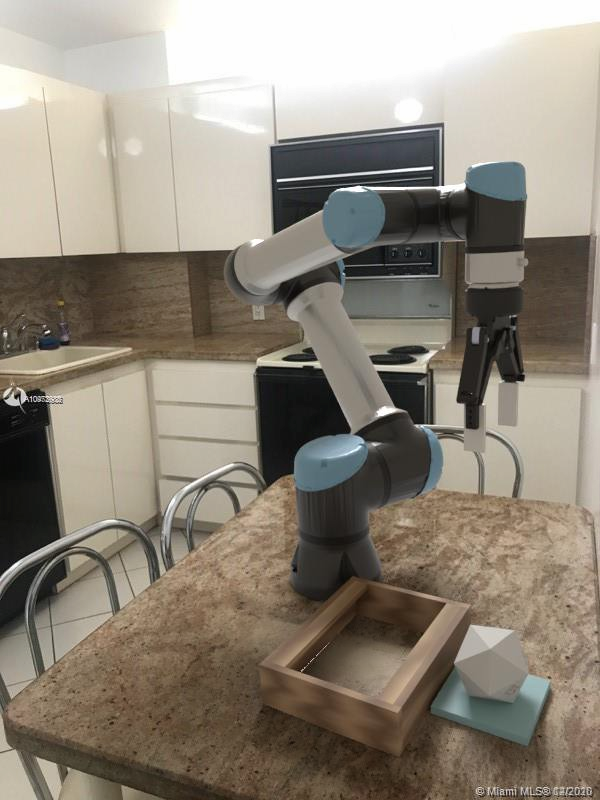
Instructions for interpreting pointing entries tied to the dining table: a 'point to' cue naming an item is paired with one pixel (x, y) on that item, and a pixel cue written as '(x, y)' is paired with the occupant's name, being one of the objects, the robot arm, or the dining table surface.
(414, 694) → the wooden tray
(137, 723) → the dining table surface
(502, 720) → the pad
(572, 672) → the dining table surface
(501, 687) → the die
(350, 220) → the robot arm
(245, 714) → the dining table surface
